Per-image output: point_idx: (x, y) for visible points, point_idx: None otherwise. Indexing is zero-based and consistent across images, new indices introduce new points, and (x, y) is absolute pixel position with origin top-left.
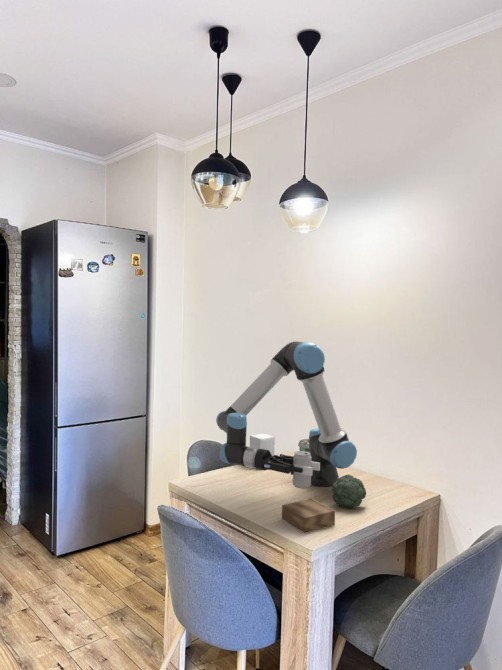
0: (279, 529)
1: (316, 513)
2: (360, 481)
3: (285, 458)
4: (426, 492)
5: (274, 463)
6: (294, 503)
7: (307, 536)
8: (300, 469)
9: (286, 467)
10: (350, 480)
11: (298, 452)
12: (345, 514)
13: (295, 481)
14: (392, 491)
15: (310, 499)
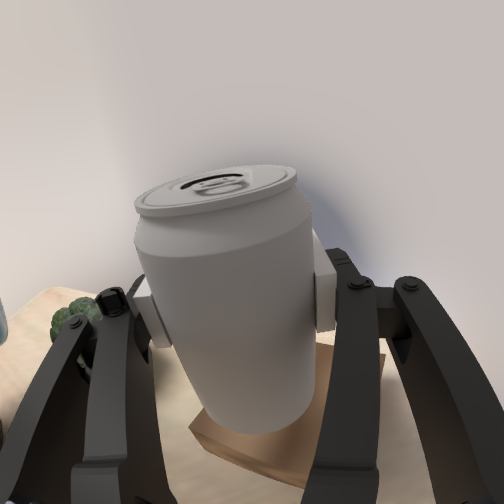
0: (417, 443)
1: (324, 353)
2: (87, 297)
3: (116, 458)
4: (47, 293)
5: (488, 420)
6: (288, 457)
7: (386, 369)
8: (343, 254)
9: (426, 297)
10: (93, 305)
11: (216, 186)
12: (176, 366)
13: (314, 378)
14: (37, 324)
15: (200, 425)
